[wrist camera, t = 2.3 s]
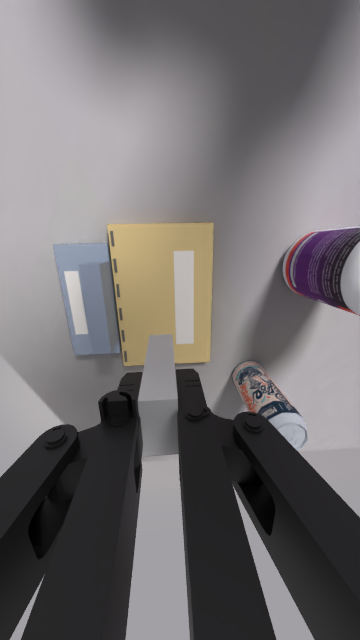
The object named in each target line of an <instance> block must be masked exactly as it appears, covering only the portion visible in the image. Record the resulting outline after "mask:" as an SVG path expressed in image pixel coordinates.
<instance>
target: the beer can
mask: <svg viewBox="0 0 360 640" xmlns="http://www.w3.org/2000/svg"><path fill="white" fill-rule="evenodd" d="M233 382H234V384H235V386H236V388H237V390H238V392H239V394H240V396H241V398H242V400H243V402H244V404H245V406H246V408H247V410H248V412H254V413H257V414H260V415H262V416H264V417H265V418H266V419H267V420H269V422H270V423H271V424H272V425H273V426H274V427H275V428H276V429H277V430H278V431H279V432H280V433H281V434H282V435H283V436H284V437H285V439H286V440H287V441H288V442H289V443H290V444H291V445H292V446H293V447H294V448H295V449H296V450H299V449H301V448H302V447H303V446H304V444H305V443H306V442H307V440H308V432H307V425H306V422H305V420H304V419H303V417H302V416H301V415H300V414H299V412H298V411H297V410H296V409H295V407H294V406H293V405H292V404H291V402H290V401H289V400H288V399H287V397H286V396H285V395H284V394H283V392H282V391H281V390H280V389H279V387H278V386H277V385H276V384H275V382H274V381H273V380H272V379H271V377H270V376H269V375H268V374H267V372H266V371H265V370H264V369H263V367H262V366H261V365H260V364H259V363H257V362H254V361H247V362H243V363H241V364H240V365H238V366H237V367H236V368H235V370H234V372H233Z"/></svg>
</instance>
